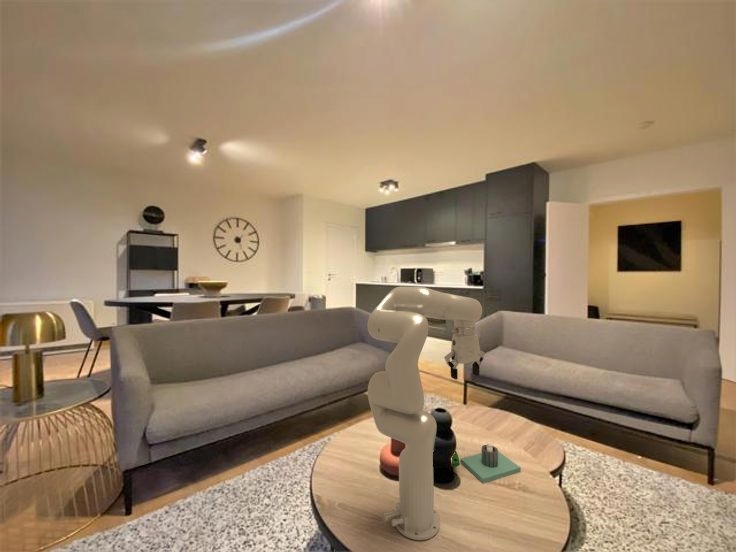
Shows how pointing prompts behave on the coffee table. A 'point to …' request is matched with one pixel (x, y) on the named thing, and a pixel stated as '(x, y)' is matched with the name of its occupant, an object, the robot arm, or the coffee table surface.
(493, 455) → the grey ribbed cylinder
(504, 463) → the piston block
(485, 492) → the coffee table surface
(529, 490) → the coffee table surface
